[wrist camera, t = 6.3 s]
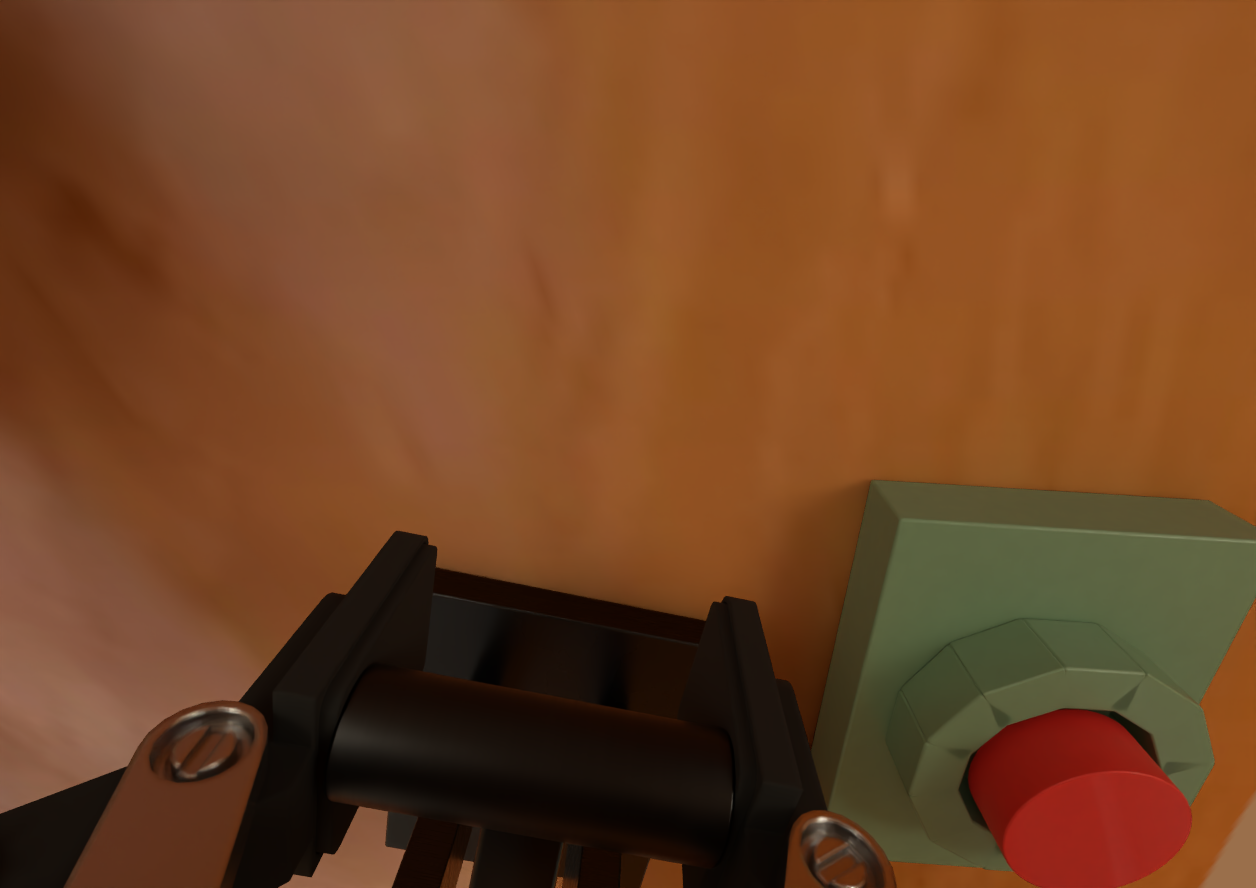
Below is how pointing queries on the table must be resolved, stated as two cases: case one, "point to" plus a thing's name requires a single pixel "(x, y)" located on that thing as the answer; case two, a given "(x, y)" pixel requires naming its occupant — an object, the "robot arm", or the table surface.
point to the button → (1077, 801)
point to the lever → (532, 773)
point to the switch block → (1018, 644)
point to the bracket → (552, 665)
